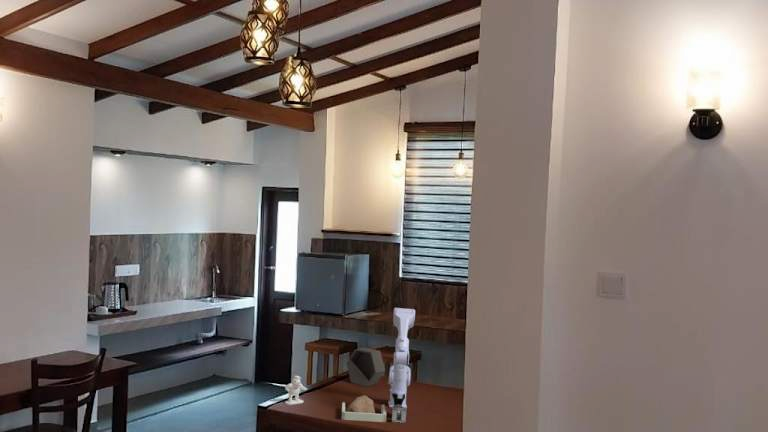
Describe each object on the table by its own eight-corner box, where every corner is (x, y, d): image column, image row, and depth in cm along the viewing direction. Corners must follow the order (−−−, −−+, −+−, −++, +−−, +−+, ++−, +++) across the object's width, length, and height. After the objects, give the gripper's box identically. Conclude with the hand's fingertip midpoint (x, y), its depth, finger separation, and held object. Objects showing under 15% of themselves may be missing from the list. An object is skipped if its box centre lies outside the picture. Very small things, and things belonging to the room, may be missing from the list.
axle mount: (391, 420, 291) (392, 406, 291) (405, 421, 291) (406, 407, 292) (391, 422, 289) (393, 407, 289) (405, 422, 289) (406, 408, 290)
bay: (341, 409, 304) (342, 402, 304) (383, 411, 305) (384, 404, 305) (341, 419, 287) (342, 412, 287) (386, 422, 288) (386, 415, 288)
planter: (341, 370, 359) (360, 340, 353) (350, 369, 365) (370, 339, 359) (361, 394, 351) (381, 364, 344) (370, 392, 357) (390, 362, 350)
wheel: (391, 415, 297) (392, 403, 298) (403, 416, 298) (404, 404, 298) (392, 419, 291) (393, 407, 292) (404, 420, 292) (405, 408, 292)
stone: (370, 418, 301) (361, 396, 304) (383, 411, 295) (374, 389, 298) (349, 427, 292) (340, 404, 294) (363, 420, 286) (353, 397, 289)
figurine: (290, 406, 302) (293, 378, 303) (282, 402, 307) (284, 375, 307) (307, 403, 309) (309, 376, 309) (298, 400, 313) (300, 373, 314)
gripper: (389, 375, 306) (387, 406, 306) (391, 382, 291) (389, 415, 291) (405, 376, 306) (403, 407, 306) (408, 383, 292) (405, 416, 292)
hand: (397, 411), depth 299 cm, fingers closed
